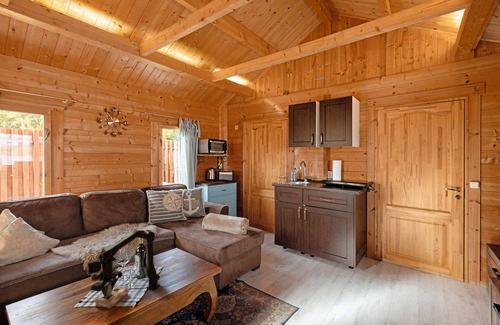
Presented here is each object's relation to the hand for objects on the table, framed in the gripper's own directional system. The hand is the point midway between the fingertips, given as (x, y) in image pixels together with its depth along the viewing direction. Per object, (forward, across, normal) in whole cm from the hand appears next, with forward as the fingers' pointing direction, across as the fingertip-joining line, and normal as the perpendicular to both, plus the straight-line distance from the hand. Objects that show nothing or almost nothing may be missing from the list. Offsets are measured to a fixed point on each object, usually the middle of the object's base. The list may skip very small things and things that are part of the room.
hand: (107, 294), depth 147 cm
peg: (+4, 0, 0) cm, 4 cm away
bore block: (+6, -3, 0) cm, 7 cm away
